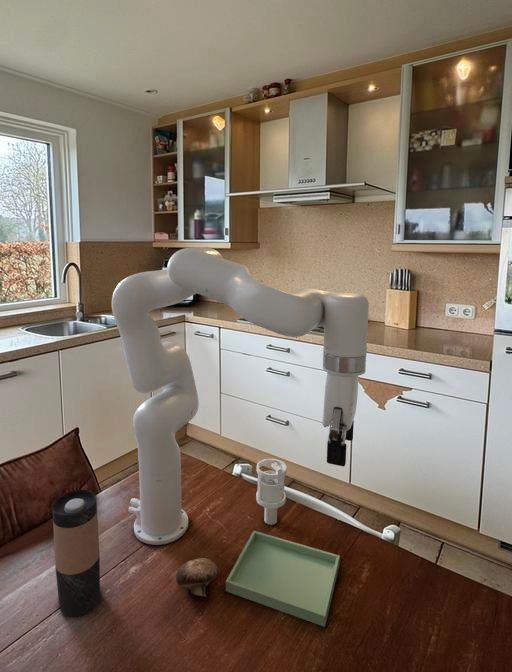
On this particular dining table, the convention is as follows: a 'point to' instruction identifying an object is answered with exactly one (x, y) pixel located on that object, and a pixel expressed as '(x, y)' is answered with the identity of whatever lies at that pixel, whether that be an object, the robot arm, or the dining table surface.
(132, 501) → the robot arm
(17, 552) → the dining table surface
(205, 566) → the mushroom
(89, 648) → the dining table surface
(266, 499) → the white open cylindrical frame
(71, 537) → the travel mug
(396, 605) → the dining table surface
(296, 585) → the tray
